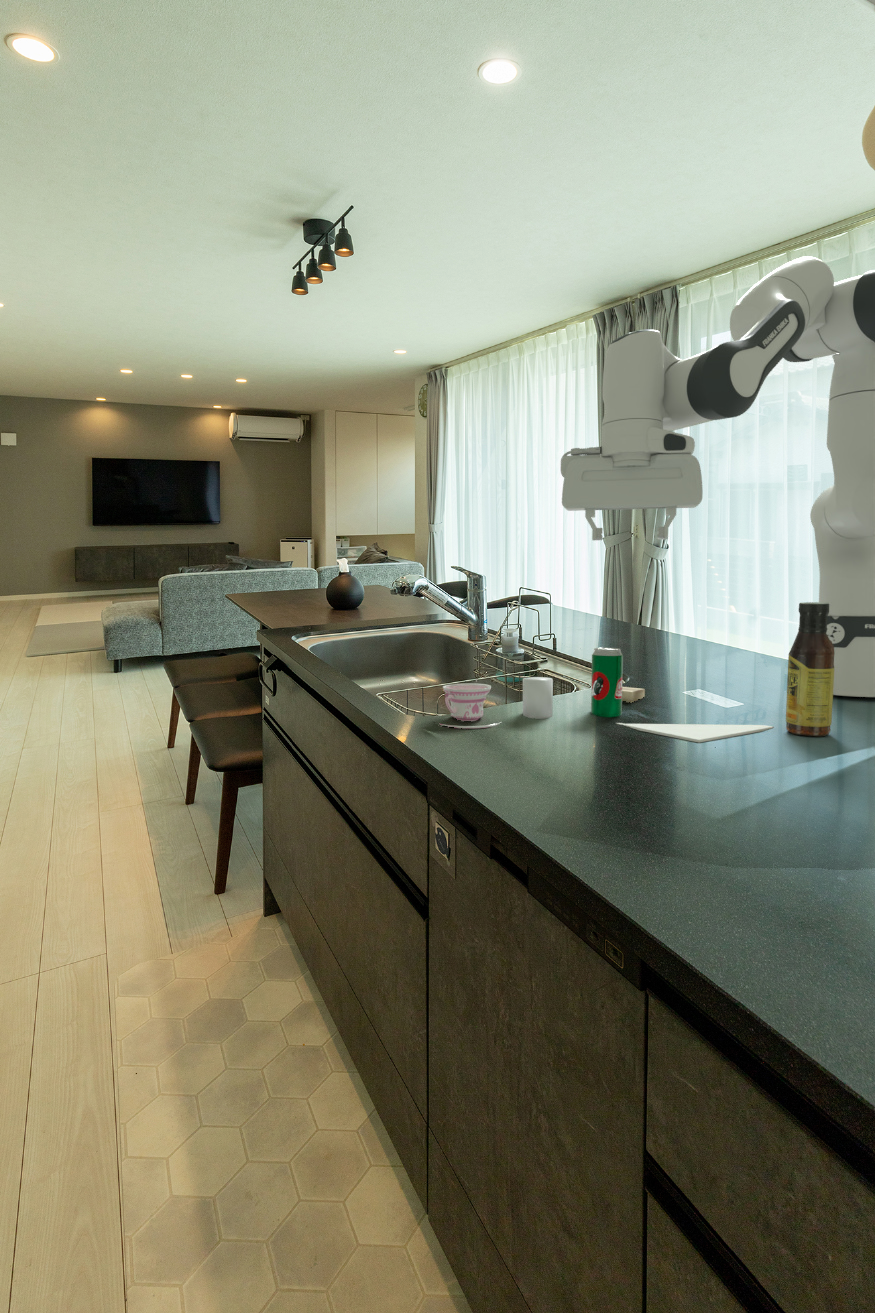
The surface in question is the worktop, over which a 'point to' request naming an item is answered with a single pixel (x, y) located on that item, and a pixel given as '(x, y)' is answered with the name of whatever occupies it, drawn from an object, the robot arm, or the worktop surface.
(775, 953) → the worktop surface
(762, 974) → the worktop surface
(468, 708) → the teacup
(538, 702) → the grey cylinder
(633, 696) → the birch block
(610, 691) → the soda can
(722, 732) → the mat
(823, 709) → the sauce bottle
